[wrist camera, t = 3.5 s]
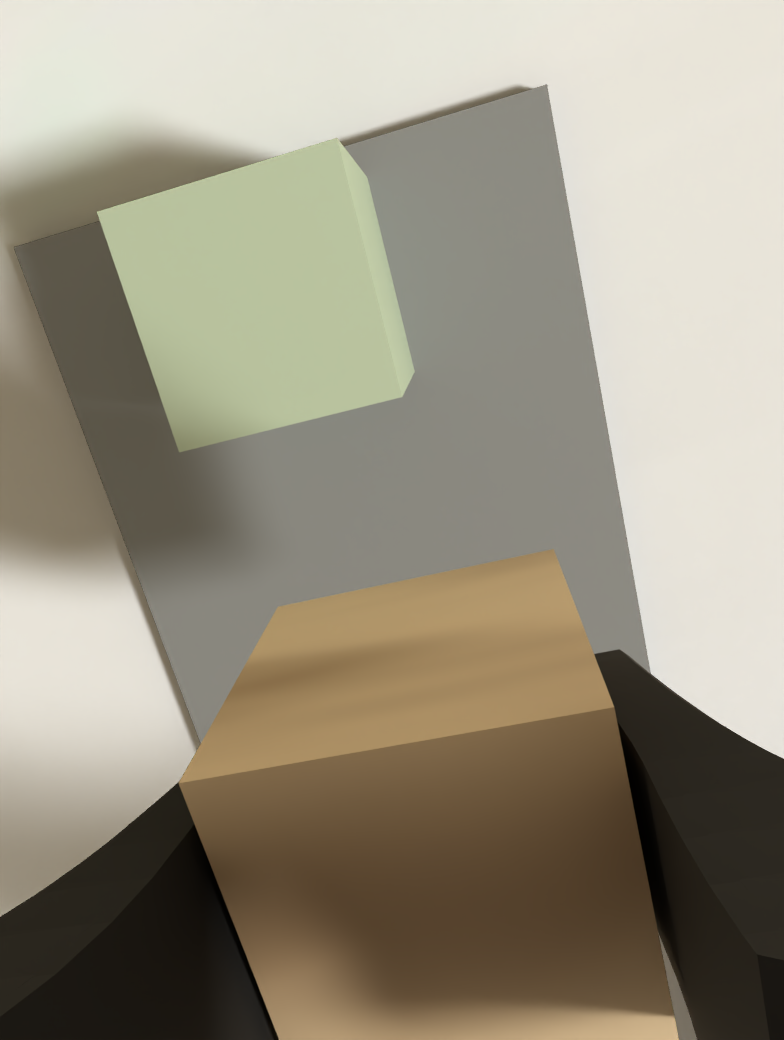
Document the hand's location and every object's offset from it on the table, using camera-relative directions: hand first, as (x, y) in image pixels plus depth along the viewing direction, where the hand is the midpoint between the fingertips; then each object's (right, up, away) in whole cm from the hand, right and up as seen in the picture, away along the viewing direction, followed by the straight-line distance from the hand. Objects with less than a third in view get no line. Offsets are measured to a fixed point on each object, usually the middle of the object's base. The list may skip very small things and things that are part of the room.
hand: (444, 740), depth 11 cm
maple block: (0, 0, +1) cm, 1 cm away
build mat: (-1, +1, +9) cm, 9 cm away
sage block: (-3, +9, +6) cm, 11 cm away
